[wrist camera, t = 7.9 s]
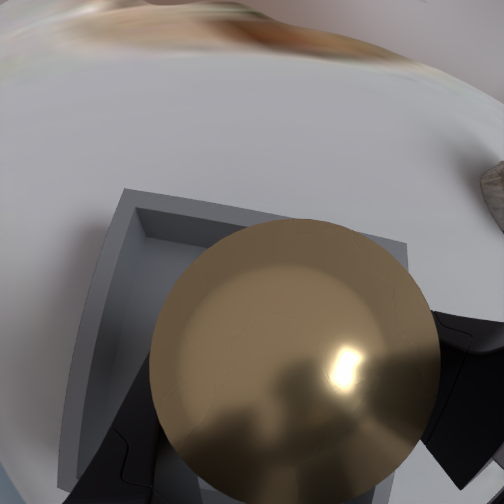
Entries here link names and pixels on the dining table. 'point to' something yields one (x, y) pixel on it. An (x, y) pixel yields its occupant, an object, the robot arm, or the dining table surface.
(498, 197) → the ceramic cottage
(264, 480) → the brass canister
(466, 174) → the dining table surface
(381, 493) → the charcoal bin
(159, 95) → the dining table surface
